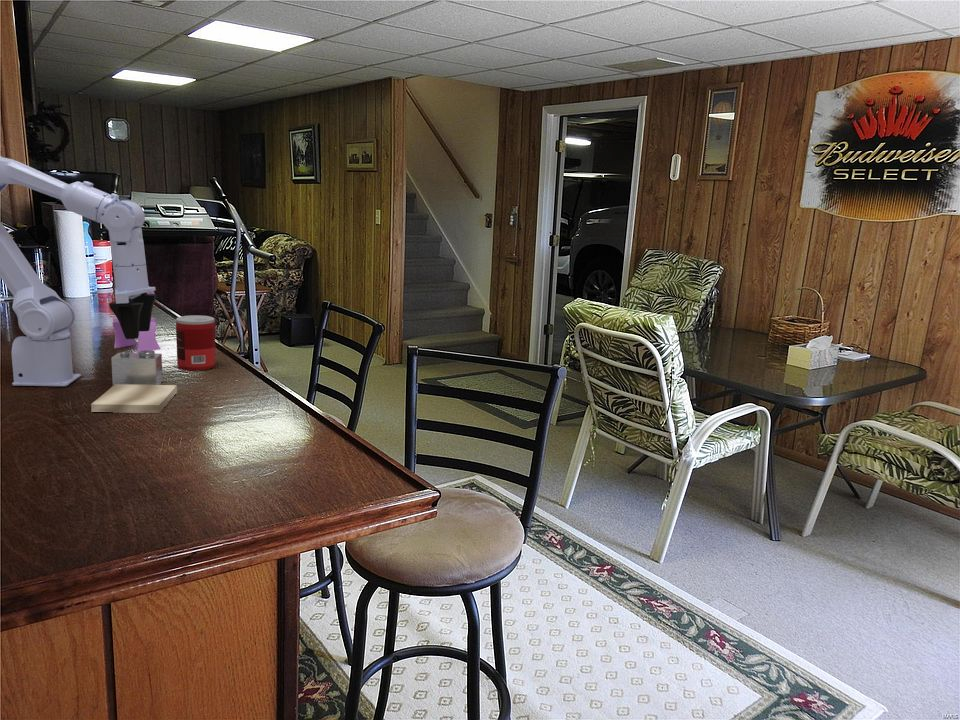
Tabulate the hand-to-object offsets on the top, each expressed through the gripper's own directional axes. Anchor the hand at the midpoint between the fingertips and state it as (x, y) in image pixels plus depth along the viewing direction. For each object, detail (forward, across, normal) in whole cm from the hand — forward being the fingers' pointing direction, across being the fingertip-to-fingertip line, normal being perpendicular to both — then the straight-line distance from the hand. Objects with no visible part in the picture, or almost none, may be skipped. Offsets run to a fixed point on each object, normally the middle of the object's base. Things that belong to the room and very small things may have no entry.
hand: (137, 334), depth 136 cm
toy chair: (+10, +32, +10) cm, 35 cm away
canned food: (+11, +15, -7) cm, 20 cm away
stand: (+10, -12, -2) cm, 16 cm away
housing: (+10, 0, +1) cm, 10 cm away
